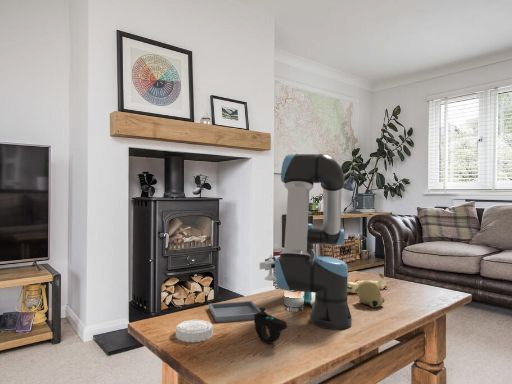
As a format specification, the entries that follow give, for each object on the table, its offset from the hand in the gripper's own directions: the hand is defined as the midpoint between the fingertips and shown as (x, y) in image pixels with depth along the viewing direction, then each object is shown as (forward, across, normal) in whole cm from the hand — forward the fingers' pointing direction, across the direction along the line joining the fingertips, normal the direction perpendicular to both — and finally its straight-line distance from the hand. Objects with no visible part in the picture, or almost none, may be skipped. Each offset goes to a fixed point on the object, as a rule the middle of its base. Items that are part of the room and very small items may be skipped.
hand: (263, 266), depth 147 cm
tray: (+10, +5, -18) cm, 21 cm away
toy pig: (-36, -31, -18) cm, 51 cm away
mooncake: (+35, +2, -18) cm, 39 cm away
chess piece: (-6, 0, -6) cm, 8 cm away
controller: (+24, -20, -18) cm, 36 cm away
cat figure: (-57, -21, -17) cm, 63 cm away
